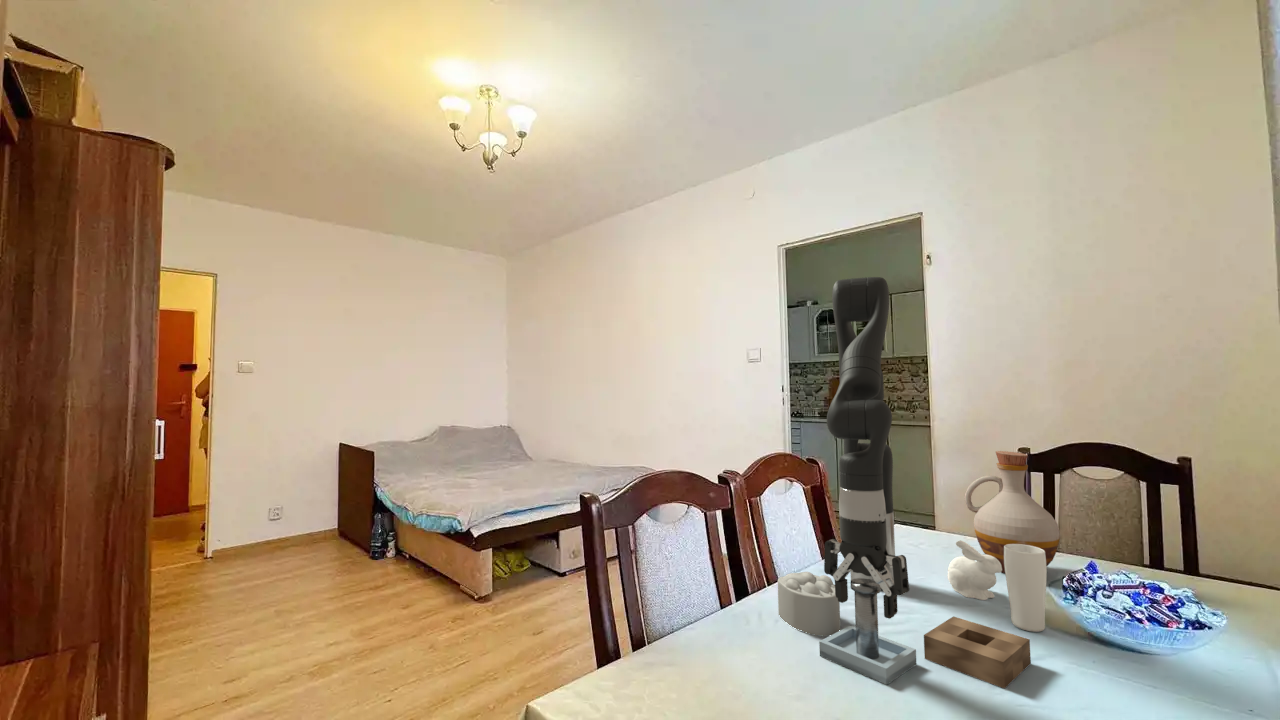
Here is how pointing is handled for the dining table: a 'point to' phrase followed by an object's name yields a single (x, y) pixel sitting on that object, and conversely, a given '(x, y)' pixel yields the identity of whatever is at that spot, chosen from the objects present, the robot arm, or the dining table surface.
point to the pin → (866, 617)
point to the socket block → (978, 651)
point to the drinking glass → (1026, 585)
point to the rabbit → (973, 573)
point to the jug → (1012, 513)
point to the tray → (882, 669)
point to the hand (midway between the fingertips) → (865, 608)
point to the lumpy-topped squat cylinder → (809, 603)
